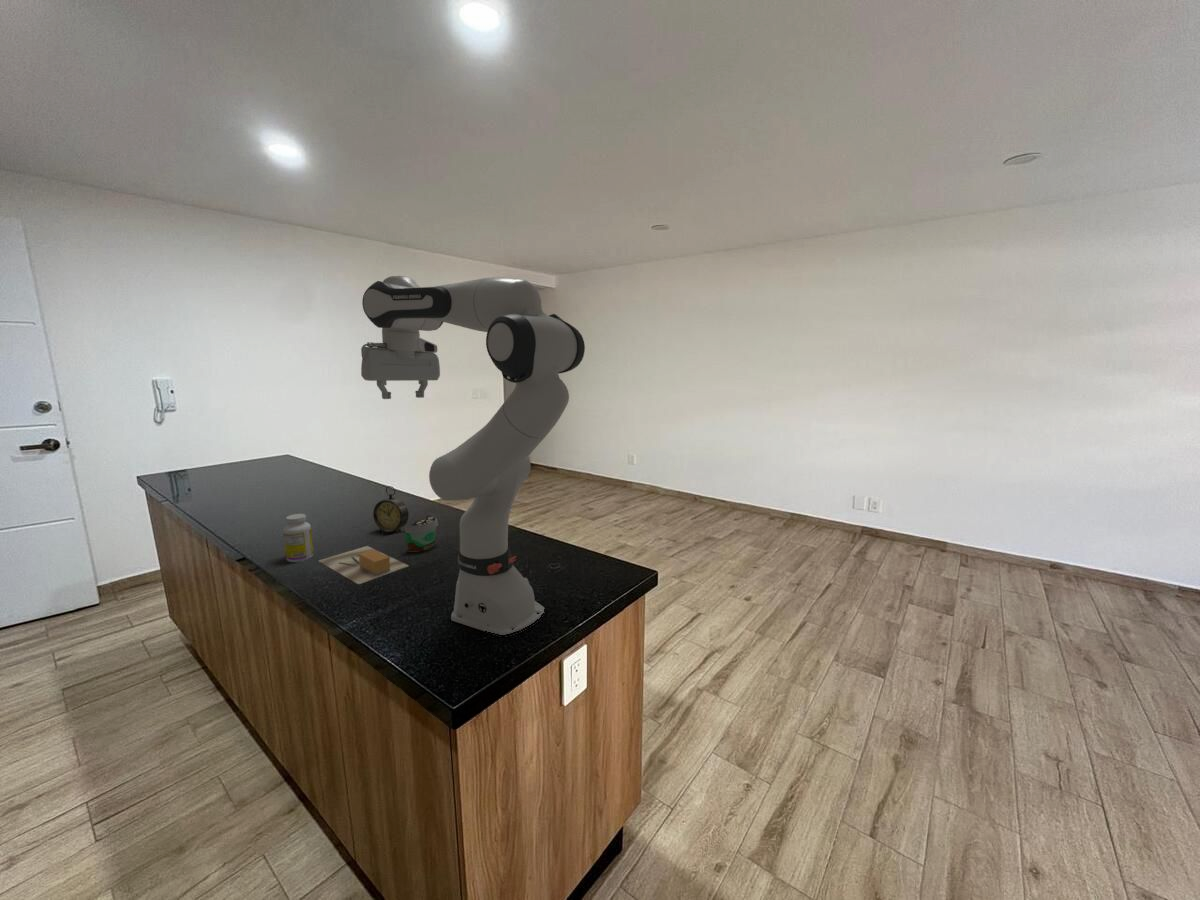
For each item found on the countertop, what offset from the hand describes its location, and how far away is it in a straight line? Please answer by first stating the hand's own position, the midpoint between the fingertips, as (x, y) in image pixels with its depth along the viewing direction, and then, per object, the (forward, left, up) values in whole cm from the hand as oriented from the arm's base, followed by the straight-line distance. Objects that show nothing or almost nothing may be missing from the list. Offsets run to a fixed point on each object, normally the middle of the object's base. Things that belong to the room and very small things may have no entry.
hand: (403, 398), depth 119 cm
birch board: (+10, +8, -48) cm, 50 cm away
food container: (+7, -10, -48) cm, 50 cm away
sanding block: (+4, +8, -46) cm, 47 cm away
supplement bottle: (+30, +16, -48) cm, 59 cm away
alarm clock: (+29, -12, -48) cm, 58 cm away
